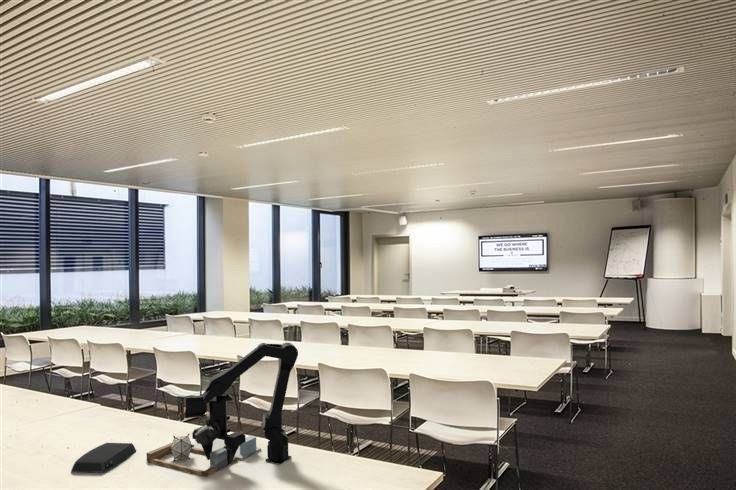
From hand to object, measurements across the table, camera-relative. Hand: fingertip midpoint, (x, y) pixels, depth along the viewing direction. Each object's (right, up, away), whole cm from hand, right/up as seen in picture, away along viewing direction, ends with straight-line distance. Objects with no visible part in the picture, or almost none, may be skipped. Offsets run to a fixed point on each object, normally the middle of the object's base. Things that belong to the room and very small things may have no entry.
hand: (219, 462), depth 176 cm
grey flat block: (-3, -2, +16) cm, 17 cm away
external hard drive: (-41, -4, +8) cm, 42 cm away
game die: (-15, -3, +8) cm, 18 cm away
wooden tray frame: (-11, -2, +6) cm, 13 cm away
